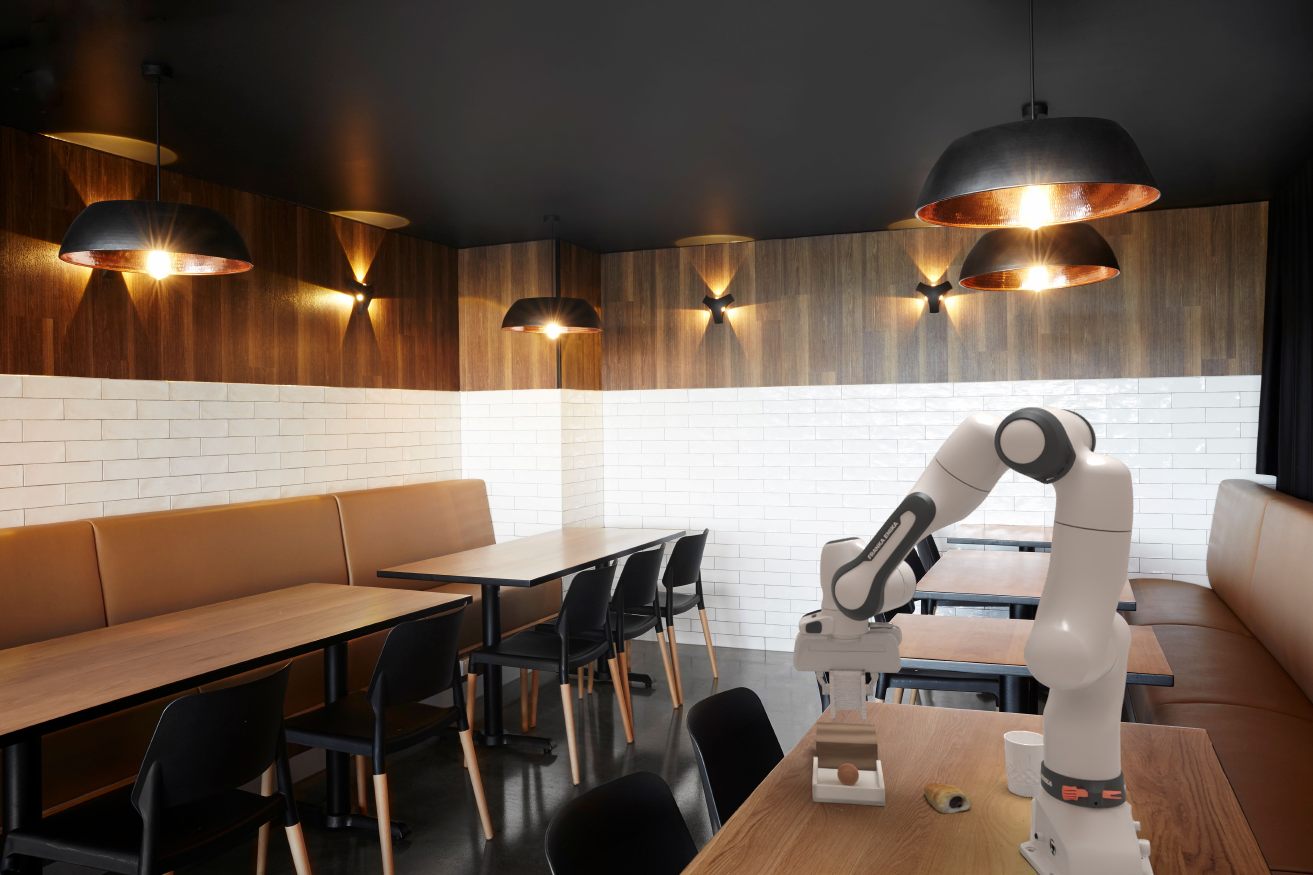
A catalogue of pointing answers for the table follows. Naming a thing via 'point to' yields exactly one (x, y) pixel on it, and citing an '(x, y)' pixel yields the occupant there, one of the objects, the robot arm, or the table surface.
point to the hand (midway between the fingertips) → (847, 694)
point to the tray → (848, 787)
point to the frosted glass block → (847, 690)
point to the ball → (848, 774)
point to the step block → (846, 745)
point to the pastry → (946, 798)
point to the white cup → (1023, 762)
